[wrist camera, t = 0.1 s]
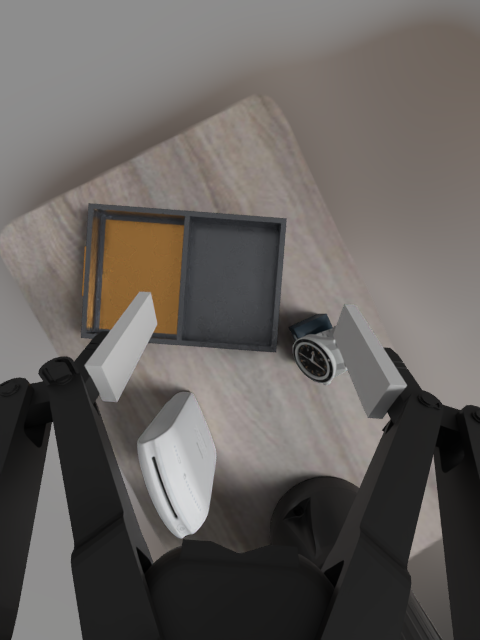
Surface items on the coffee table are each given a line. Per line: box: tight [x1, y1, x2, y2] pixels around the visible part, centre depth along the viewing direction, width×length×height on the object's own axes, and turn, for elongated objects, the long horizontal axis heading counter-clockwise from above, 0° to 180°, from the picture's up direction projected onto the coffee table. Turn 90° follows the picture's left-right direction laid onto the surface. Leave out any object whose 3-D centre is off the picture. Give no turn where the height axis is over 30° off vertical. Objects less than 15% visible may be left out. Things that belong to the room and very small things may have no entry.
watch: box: [289, 314, 369, 385], centre depth 26 cm, size 6×8×11 cm
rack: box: [81, 203, 287, 352], centre depth 30 cm, size 16×24×3 cm
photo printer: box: [137, 392, 217, 538], centre depth 26 cm, size 10×4×12 cm, turn 21°
